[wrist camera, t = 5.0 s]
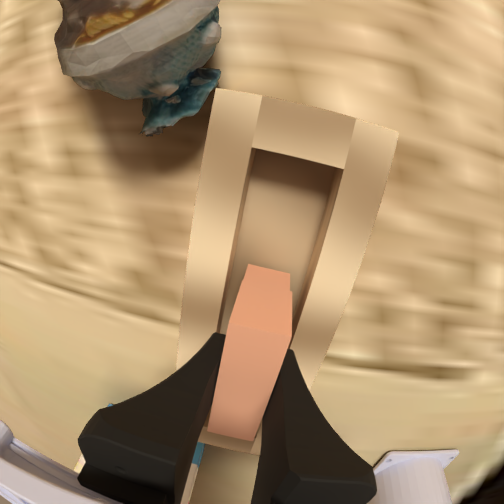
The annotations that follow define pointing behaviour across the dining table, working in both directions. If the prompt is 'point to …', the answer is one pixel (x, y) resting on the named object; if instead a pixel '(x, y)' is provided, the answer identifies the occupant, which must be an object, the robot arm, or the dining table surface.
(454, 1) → the dining table surface
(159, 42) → the figurine
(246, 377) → the tall salmon pink block
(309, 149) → the rail
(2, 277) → the dining table surface
